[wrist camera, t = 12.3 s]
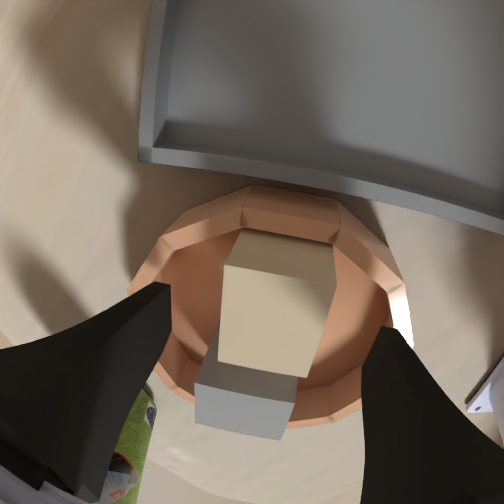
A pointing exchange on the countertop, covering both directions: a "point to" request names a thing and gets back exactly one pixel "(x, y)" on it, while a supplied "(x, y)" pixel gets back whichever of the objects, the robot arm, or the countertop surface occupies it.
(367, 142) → the tray
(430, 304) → the countertop surface
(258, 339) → the cream wooden cube
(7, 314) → the countertop surface
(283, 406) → the grey sharp-edged cube
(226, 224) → the bowl
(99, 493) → the robot arm
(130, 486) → the beverage can
